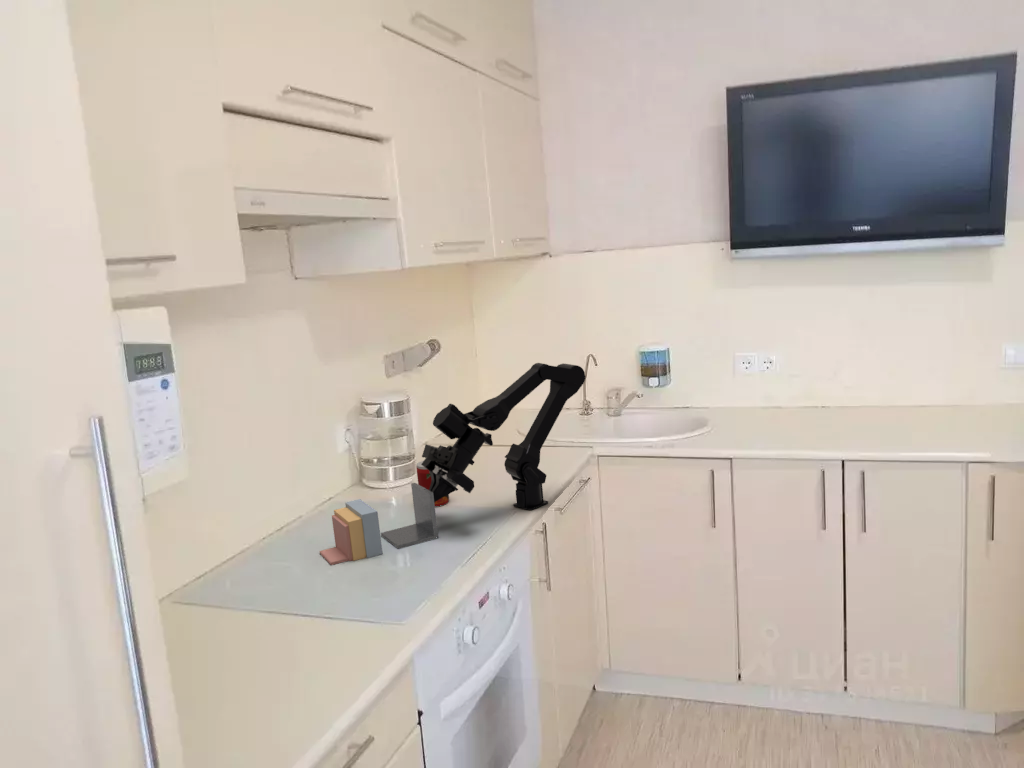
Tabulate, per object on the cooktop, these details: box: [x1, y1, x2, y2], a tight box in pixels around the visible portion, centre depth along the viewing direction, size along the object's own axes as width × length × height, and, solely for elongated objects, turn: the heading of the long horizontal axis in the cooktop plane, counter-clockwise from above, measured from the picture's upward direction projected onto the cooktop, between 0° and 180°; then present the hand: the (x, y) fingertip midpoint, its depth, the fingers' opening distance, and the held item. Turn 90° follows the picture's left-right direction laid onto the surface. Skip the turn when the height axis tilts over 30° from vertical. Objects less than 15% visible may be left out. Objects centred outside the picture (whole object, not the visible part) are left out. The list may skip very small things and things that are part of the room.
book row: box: [319, 498, 384, 566], centre depth 187 cm, size 11×12×10 cm
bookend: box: [380, 482, 439, 550], centre depth 193 cm, size 10×11×11 cm
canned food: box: [415, 460, 450, 507], centre depth 218 cm, size 8×8×11 cm
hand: (426, 504), depth 196 cm, fingers closed, pressing on bookend
